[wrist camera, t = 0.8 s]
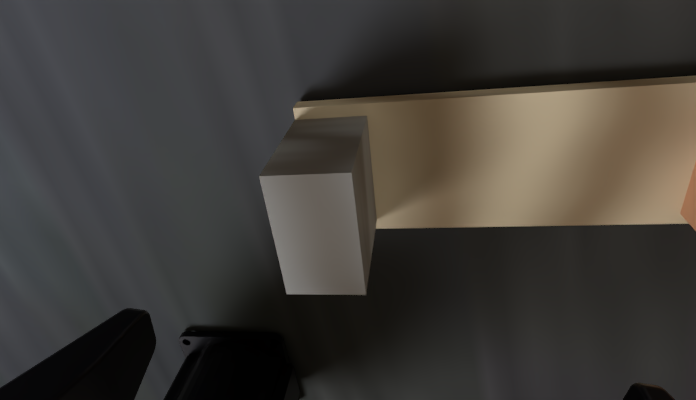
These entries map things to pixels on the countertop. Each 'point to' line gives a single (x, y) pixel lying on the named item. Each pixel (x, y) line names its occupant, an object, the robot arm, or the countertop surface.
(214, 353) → the robot arm
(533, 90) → the beige rectangular bar
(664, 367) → the countertop surface
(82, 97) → the countertop surface
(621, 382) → the countertop surface
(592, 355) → the countertop surface
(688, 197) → the terracotta block
